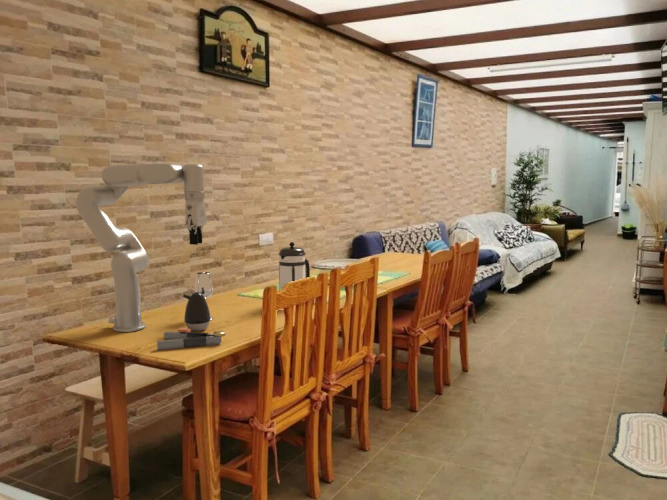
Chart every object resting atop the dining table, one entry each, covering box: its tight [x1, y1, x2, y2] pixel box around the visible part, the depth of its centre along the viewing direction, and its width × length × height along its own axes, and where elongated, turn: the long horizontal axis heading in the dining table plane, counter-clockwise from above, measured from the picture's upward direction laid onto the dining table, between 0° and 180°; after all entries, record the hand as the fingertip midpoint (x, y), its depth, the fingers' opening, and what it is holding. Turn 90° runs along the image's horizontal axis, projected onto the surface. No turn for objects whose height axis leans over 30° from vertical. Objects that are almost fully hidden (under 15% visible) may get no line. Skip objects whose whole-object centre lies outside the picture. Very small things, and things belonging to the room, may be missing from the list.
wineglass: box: [193, 271, 215, 321], centre depth 246 cm, size 8×8×20 cm
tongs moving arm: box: [156, 336, 221, 351], centre depth 206 cm, size 22×2×3 cm, turn 108°
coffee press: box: [278, 241, 311, 290], centre depth 274 cm, size 17×16×30 cm
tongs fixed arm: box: [163, 330, 227, 344], centre depth 212 cm, size 24×4×4 cm, turn 80°
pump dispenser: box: [182, 291, 211, 332], centre depth 229 cm, size 10×10×15 cm
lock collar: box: [177, 327, 192, 333], centre depth 216 cm, size 3×4×4 cm
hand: (196, 243), depth 222 cm, fingers open, 3 cm apart
